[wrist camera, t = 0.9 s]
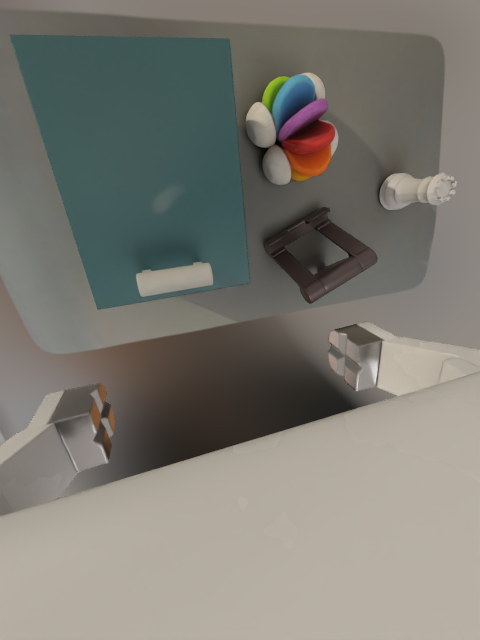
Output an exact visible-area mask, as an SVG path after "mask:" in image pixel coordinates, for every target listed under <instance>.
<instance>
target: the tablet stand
mask: <svg viewBox="0 0 480 640" xmlns="http://www.w3.org/2000/svg"><path fill="white" fill-rule="evenodd" d="M328 212H330V208H326V207H323V208H321V209H319V210H318V211H316V212H314V213H313V214H311V215H310V216H308V217H306V218H305V219H303V220H301V221H300V222H298V223H296V224H295V225H293V226H291V227H290V228H288V229H286V230H285V231H283V232H281V233H280V234H278V235H276V236H275V237H273V238H271V239H270V240H268V241H266V242H265V243H264V247H265V249H266V251H267V253H268V254H269V255H270V256H271V257H272V258H273V259H274V260H275V261H276V262H277V263H278V264H279V265H280V266H281V267H282V268H283V269H284V270H285V271H286V273H287V274H288V275H289V276H290V277H291V278H292V279H293V280H294V281H295V282H296V283H297V284H298V286H299V288H300V291H301V294H302V296H303V297H304V299H305V300H306V301H307V302H308V303H309V304H311V303H313V302H314V301H316V300H318V299H319V298H321V297H322V296H324V295H325V294H327V293H329V292H330V291H332V290H334V289H335V288H337V287H339V286H340V285H342V284H343V283H345V282H347V281H348V280H350V279H351V278H353V277H355V276H356V275H358V274H359V273H361V272H363V271H364V270H366V269H368V268H369V267H371V266H372V265H374V264H376V262H377V256H376V254H375V252H374V251H373V250H372V249H371V248H369V247H368V246H366V245H365V244H363V243H362V242H360V241H359V240H357V239H356V238H354V237H353V236H351V235H350V234H348V233H347V232H345V231H344V230H342V229H341V228H339V227H338V226H336V225H335V224H333V223H332V222H331V221H330V220H329V219H328V216H327V213H328ZM313 229H316V230H317V231H319V232H320V233H321V234H323V235H324V236H325V237H327V238H328V239H329V240H331V241H332V242H334V243H335V244H336V245H338V246H339V247H340V248H342V249H343V250H344V251H346V252H347V253H348V255H349V257H348V258H346V259H343V260H341V261H338V262H336V263H334V264H331V265H329V266H326V267H325V268H323V269H321V270H320V271H318V273H316V274H314V275H313V274H312V273H311V272H310V271H309V270H308V269H306V268H305V267H304V266H303V265H302V264H301V263H300V262H299V261H298V260H297V259H296V258H294V257H293V256H292V255H291V254H290V253H289V252H288V251H287V250H286V249H285V246H286V245H288V244H290V243H291V242H293V241H294V240H296V239H298V238H299V237H301V236H303V235H304V234H306V233H308V232H309V231H311V230H313Z"/></svg>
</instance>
